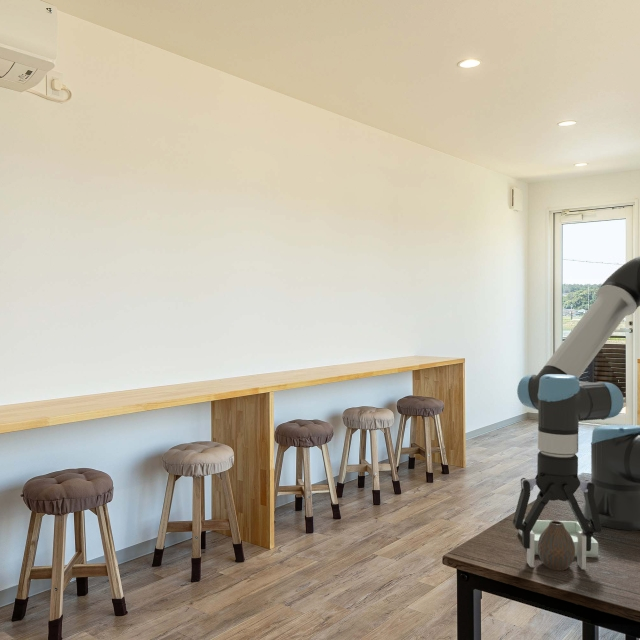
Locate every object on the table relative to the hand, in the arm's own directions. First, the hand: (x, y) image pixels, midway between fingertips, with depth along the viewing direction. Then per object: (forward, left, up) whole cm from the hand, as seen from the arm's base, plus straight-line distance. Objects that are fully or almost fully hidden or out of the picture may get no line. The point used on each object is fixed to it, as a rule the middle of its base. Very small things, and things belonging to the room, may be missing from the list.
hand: (555, 565), depth 123 cm
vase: (0, 0, 0) cm, 0 cm away
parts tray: (-4, -12, 0) cm, 13 cm away
